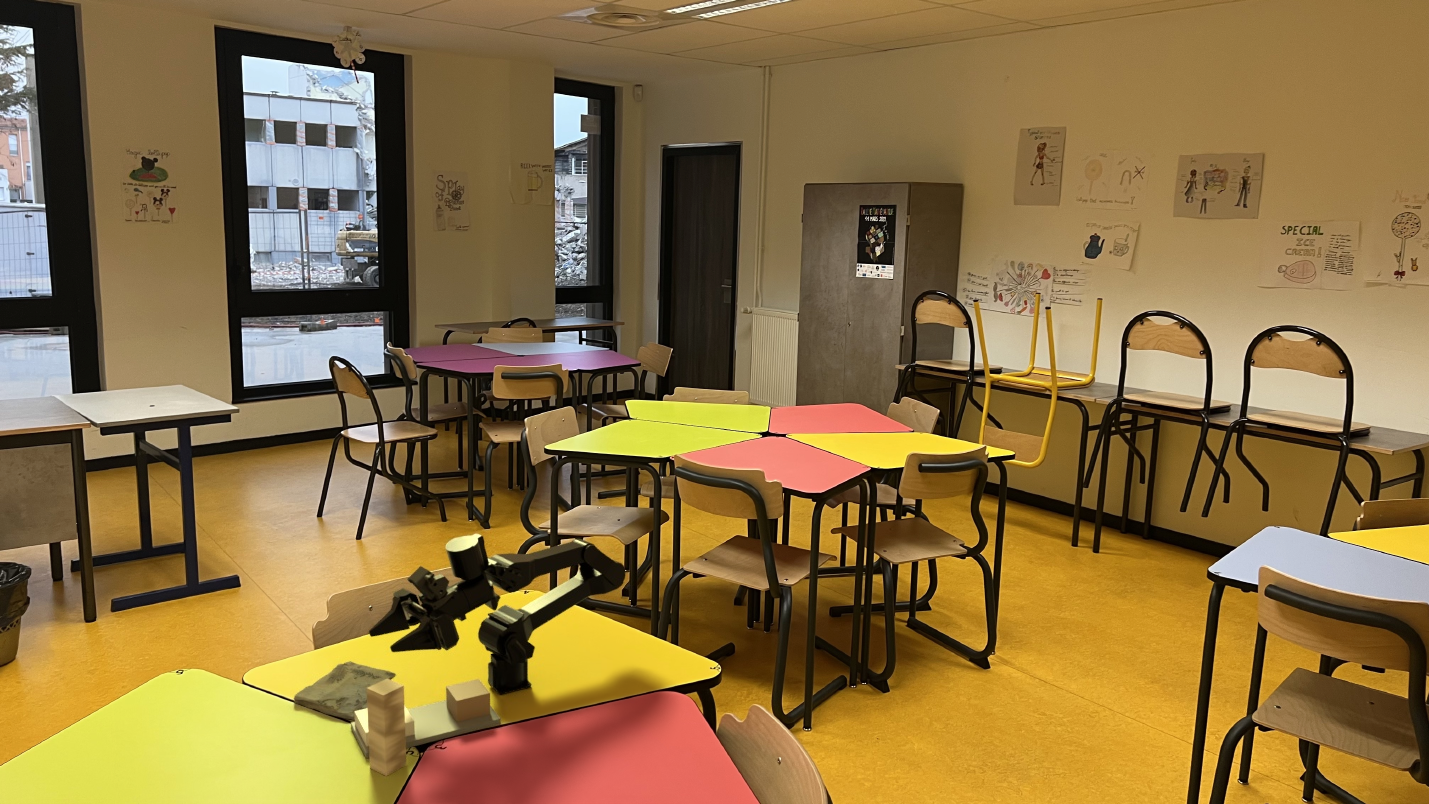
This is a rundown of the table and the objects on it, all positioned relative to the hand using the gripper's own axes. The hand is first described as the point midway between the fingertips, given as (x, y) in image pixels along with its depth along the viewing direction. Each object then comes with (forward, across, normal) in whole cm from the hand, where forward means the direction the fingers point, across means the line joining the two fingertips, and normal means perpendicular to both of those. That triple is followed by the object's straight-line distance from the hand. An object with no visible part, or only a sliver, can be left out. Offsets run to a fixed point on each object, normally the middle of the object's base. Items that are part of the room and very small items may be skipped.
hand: (380, 641), depth 170 cm
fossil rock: (+4, -17, +15) cm, 23 cm away
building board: (-2, +3, +17) cm, 18 cm away
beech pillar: (+8, +11, +15) cm, 20 cm away
